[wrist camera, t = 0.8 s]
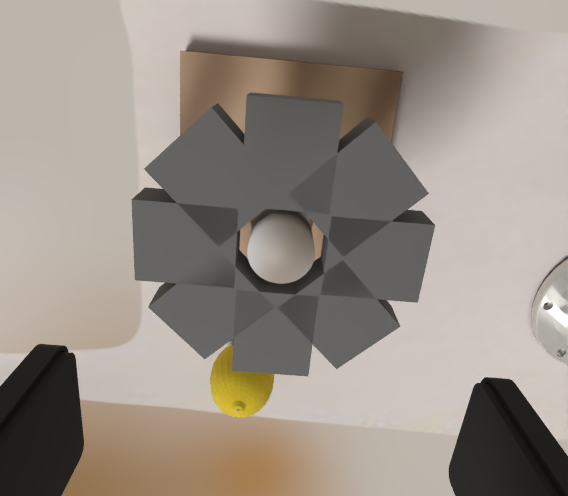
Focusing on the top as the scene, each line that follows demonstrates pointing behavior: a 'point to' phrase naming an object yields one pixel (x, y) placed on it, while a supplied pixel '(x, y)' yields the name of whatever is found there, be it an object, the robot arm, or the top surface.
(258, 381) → the lemon
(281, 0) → the top surface
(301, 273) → the pipe stand
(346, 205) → the grey flat ring
